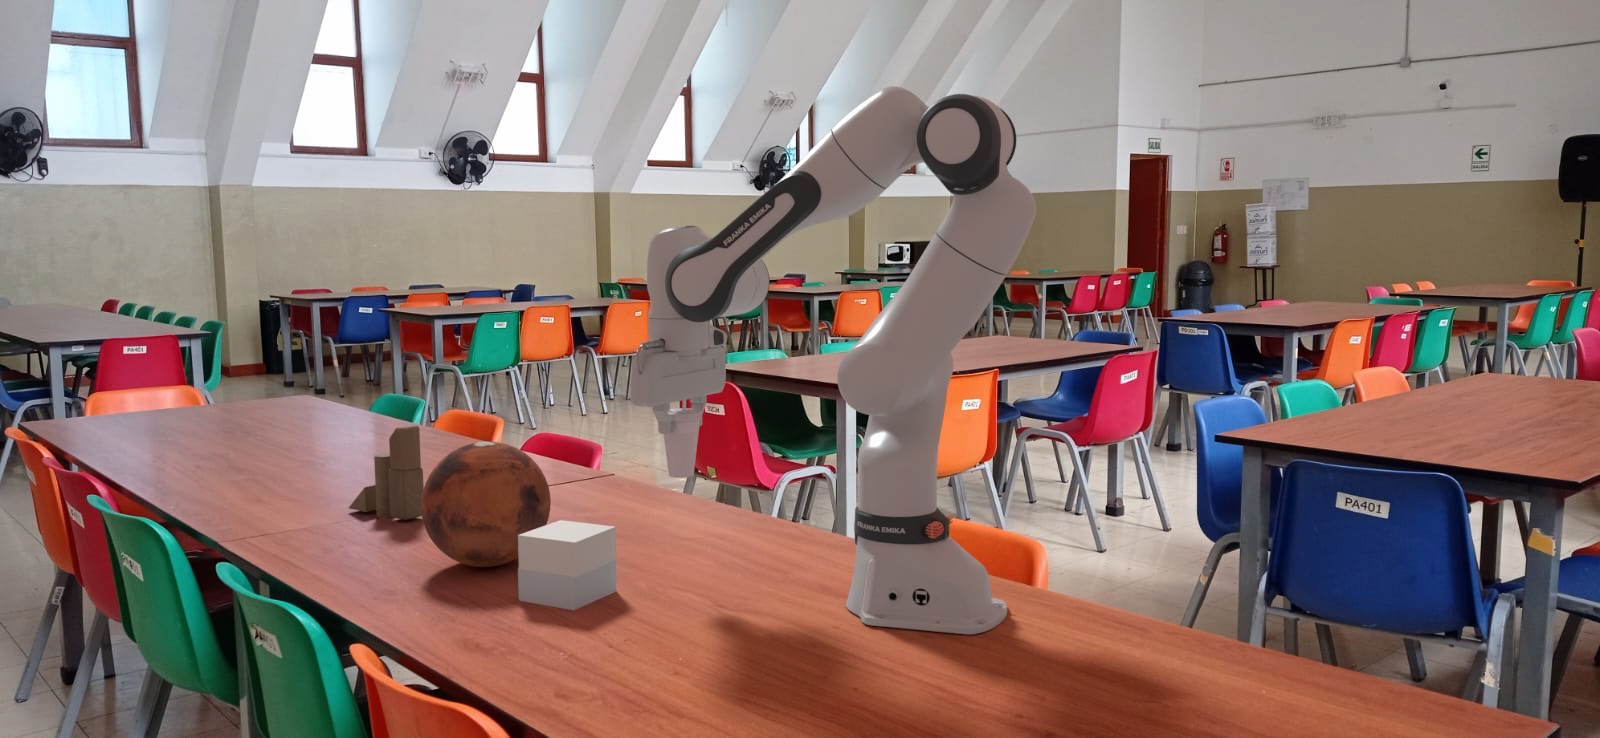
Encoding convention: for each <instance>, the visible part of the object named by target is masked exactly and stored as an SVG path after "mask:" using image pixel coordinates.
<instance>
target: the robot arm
mask: <svg viewBox="0 0 1600 738" xmlns="http://www.w3.org/2000/svg"><path fill="white" fill-rule="evenodd" d="M1016 148H1017V133H1016V129H1015V125H1014V123H1013V121H1012V119H1011V117H1010V115H1008V114H1007V113H1006V111H1005V110H1003V108H1000V107H999V106H998V105H997V104H996V103H995V102H993V101H991V100H989V99H987V98H985V97H982V96H978V95H972V94H971V95H970V94H966V93H965V94H964V93H955V94H954V93H953V94H950V95H947V96H945V97H942V98H940V99H938V100H936V101H935V102H934V103H933V104H932V105H930V106H929V105H927V104H925V103H924V102H923V101H922V99H921V98H919V97H918V96H917V95H916V94H915V93H913V92H912V91H911V90H908V89H907V88H904V87H900V86H887V87H884V88H882V89H881V90H879V91H877V92H876V93H874V94H873V95H871V96H869V97H868V98H867V99H865V100H864V101H863V102H861V103H860V104H858V105H857V106H856V107H855V108H853V109H852V110H851V111H850V112H849V113H847V114H846V115H845V116H844V117H842V118H841V119H840V120H839V121H838V122H837V123H836V124H835V125H834V126H833V127H832V128H831V129H830V130H829V131H828V132H827V133H826V134H825V135H824V136H823V137H822V138H821V139H820V140H819V141H818V142H817V143H816V144H815V145H814V146H813V147H812V148H811V149H810V150H808V153H805V156H804V157H802V158H801V159H800V160H799V161H798V162H797V163H796V164H795V165H794V166H793V167H792V168H791V169H790V170H789V171H787V173H786V174H785V175H783V176H782V177H781V179H780V180H778V181H777V182H776V183H775V185H773V186H772V187H771V188H770V189H768V190H767V191H766V192H765V193H763V194H762V195H761V196H760V197H758V199H756V200H755V201H754V202H753V203H752V204H751V205H749V206H748V207H747V208H746V209H745V210H744V211H743V212H741V213H740V214H739V215H738V216H737V217H735V218H734V220H732V221H731V222H730V223H729V224H728V225H726V227H724V228H723V229H722V230H721V231H720V232H719V233H717V234H716V235H715V236H713V237H712V236H711V235H709V234H707V233H706V232H705V231H704V229H702V228H701V227H699V226H696V225H682V226H675V227H669V228H666V229H662V230H660V231H658V232H656V233H655V234H654V235H653V236H652V237H651V239H650V242H649V244H648V245H649V246H648V250H647V251H648V252H647V259H646V260H647V261H646V262H647V263H646V287H647V288H646V289H647V292H648V296H649V301H650V302H649V303H650V305H649V310H648V315H647V321H648V322H647V326H648V328H647V329H648V340H647V341H646V340H645V341H643V342H642V343H640V345H639V347H638V349H637V350H636V351H635V357H634V360H633V362H632V368H631V376H630V377H631V379H630V381H631V382H630V399H631V401H632V403H633V405H634V406H636V407H643V408H648V407H650V408H652V412H653V415H654V417H655V419H656V421H657V423H658V425H657V426H658V427H657V428H658V430H657V431H658V434H661V435H663V434H669V433H672V432H673V431H674V428H673V427H674V421H670V417H669V414H668V411H669V410H670V409H671V405H670V404H671V403H677V402H681V401H682V400H686V401H687V400H690V401H689V402H690V403H691V407H690V409H697V410H701V411H702V415H703V414H704V411H705V409H706V406H707V402H708V401H707V396H709V395H713V394H719V393H722V392H723V390H724V388H725V385H726V379H727V375H726V373H727V369H726V368H727V367H726V365H727V363H726V360H727V358H726V351H725V349H724V348H723V346H725V345H726V343H727V333H726V332H725V331H724V330H721V329H719V328H717V327H715V326H714V325H713V324H711V323H709V321H711V320H715V319H718V318H725V317H731V316H738V315H744V314H747V313H749V312H752V311H754V310H755V309H757V308H759V307H760V306H761V305H762V304H763V303H764V301H765V300H766V298H767V296H768V293H769V291H770V283H771V281H770V274H769V270H768V268H767V265H766V264H765V262H764V261H763V259H764V258H765V257H766V255H768V254H770V252H771V251H773V250H774V249H775V248H776V247H777V246H778V245H779V244H781V243H782V242H783V241H785V240H786V239H787V238H788V237H790V236H791V235H794V234H795V233H797V232H799V231H801V230H804V229H807V228H809V227H812V226H815V225H819V224H824V223H828V222H832V221H837V220H841V219H846V218H848V217H850V216H852V215H854V214H856V213H857V212H859V211H860V210H862V209H864V208H865V207H867V206H868V205H869V204H871V203H872V202H874V201H875V200H876V199H877V198H878V197H879V196H881V195H882V194H883V193H884V192H885V191H886V190H887V189H888V188H889V187H890V186H891V185H892V184H893V183H894V182H895V181H897V179H898V178H900V177H901V176H902V175H903V174H904V173H905V172H906V171H908V170H909V169H911V168H912V167H914V166H916V165H919V164H922V163H923V164H925V166H927V168H928V169H929V170H930V172H931V173H932V174H933V175H934V176H935V177H936V178H937V179H938V180H939V182H940V183H941V184H942V185H943V186H944V188H945V189H946V190H947V191H948V192H949V193H951V194H953V199H952V203H951V204H950V208H949V210H948V211H947V212H946V215H945V216H944V218H943V220H942V221H941V223H940V224H939V226H938V227H937V229H936V231H935V233H934V235H933V236H932V238H931V239H930V242H929V243H928V245H927V246H926V248H925V249H924V251H923V253H922V254H921V256H920V257H919V259H918V261H917V262H916V264H915V266H914V267H913V269H912V270H911V271H910V272H911V273H910V274H909V276H907V278H906V280H905V281H904V283H902V285H901V287H899V290H898V291H897V292H896V293H895V294H894V296H893V297H892V298H891V299H890V300H889V301H888V303H887V304H886V305H885V306H884V308H883V309H882V310H881V311H880V312H879V314H878V315H877V316H876V317H875V318H874V320H873V321H872V323H871V324H870V325H869V327H868V328H867V329H866V330H865V332H864V334H862V336H861V337H860V338H859V339H858V341H857V343H855V344H854V345H853V346H852V347H851V348H850V349H849V350H848V351H847V352H846V353H845V355H844V356H843V357H842V358H841V361H840V363H839V365H838V367H837V368H838V369H837V377H836V379H837V381H836V382H837V386H838V390H839V392H840V395H841V397H842V398H843V400H844V401H845V403H846V404H847V405H848V406H849V407H851V408H852V409H853V410H855V411H856V412H858V413H861V414H864V415H868V420H867V424H866V425H867V426H866V430H865V433H864V437H863V440H862V442H861V445H860V448H859V450H858V455H857V460H858V461H857V506H856V507H855V509H854V521H853V523H854V525H853V527H854V528H853V529H854V530H853V531H854V543H855V545H856V549H855V550H856V551H855V559H854V566H853V567H854V569H853V575H852V580H851V585H850V588H849V593H848V596H847V599H846V603H845V605H846V608H847V609H848V610H849V612H852V613H853V614H855V615H856V616H858V617H859V618H860V619H861V622H862V623H863V624H865V625H868V626H875V627H887V628H895V629H896V628H897V629H907V630H916V631H918V630H919V631H926V632H927V631H929V632H939V633H948V634H949V633H950V634H952V633H953V634H962V635H976V634H980V633H984V632H988V631H989V630H991V629H994V628H995V627H997V626H998V625H1000V624H1001V623H1002V622H1003V621H1004V620H1005V619H1006V617H1007V615H1008V605H1007V603H1006V602H1005V600H1003V599H999V598H997V597H996V598H995V597H993V596H992V590H991V581H990V578H989V573H988V571H987V568H986V566H984V565H983V564H982V563H981V562H980V561H979V560H977V559H976V558H975V557H974V556H972V554H970V553H969V552H968V551H967V550H966V549H964V547H962V546H961V545H960V544H959V543H958V542H956V541H955V540H954V539H953V538H952V537H950V525H951V524H952V523H953V522H954V521H953V517H954V515H953V514H949V515H948V516H947V515H945V514H944V513H943V512H942V511H941V510H940V509H939V508H938V507H937V505H938V499H937V498H938V497H937V496H938V459H939V457H938V456H939V445H940V439H941V433H942V427H943V423H944V417H945V412H946V404H947V395H948V390H949V389H948V388H949V384H950V382H951V378H952V376H953V372H954V359H953V358H954V357H953V355H952V351H953V350H954V349H955V348H956V347H957V346H958V344H959V343H960V342H961V341H962V339H963V338H964V337H965V336H966V335H967V334H968V332H969V331H970V330H972V328H973V327H974V326H975V325H976V324H977V322H978V321H979V319H980V318H981V316H982V315H983V313H984V312H985V310H986V309H987V307H988V305H989V304H990V302H991V301H992V299H993V297H995V294H996V292H997V291H998V289H999V288H1000V286H1001V284H1002V283H1003V282H1004V280H1005V278H1006V276H1008V273H1009V272H1010V271H1011V269H1012V268H1013V265H1014V263H1015V262H1016V260H1017V258H1018V257H1019V255H1020V253H1021V250H1022V249H1023V246H1024V245H1025V242H1026V241H1027V238H1028V236H1029V234H1030V232H1031V228H1032V226H1033V223H1034V221H1035V219H1036V215H1037V211H1038V209H1037V208H1038V207H1037V202H1036V200H1035V196H1034V195H1033V194H1032V192H1031V191H1030V190H1029V189H1028V188H1027V186H1026V185H1025V184H1024V183H1022V182H1021V181H1020V180H1018V179H1017V178H1015V177H1013V175H1012V174H1011V173H1010V172H1009V170H1008V166H1009V164H1010V163H1011V161H1012V159H1013V157H1014V156H1015V155H1014V154H1015V152H1016ZM702 425H703V417H702V418H701V419H700V424H699V427H700V426H702Z"/></svg>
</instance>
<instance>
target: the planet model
mask: <svg viewBox="0 0 1600 738" xmlns="http://www.w3.org/2000/svg"><path fill="white" fill-rule="evenodd" d="M546 478H547V477H546V476H545V474H544V472H543V471H542V469H541V468H540V466H539V465H538V464H537V462H536V461H535V460H534V459H533V458H532V457H531V456H529V455H528V454H527V453H525V452H524V451H522V450H520V449H519V448H517V447H515V446H513V445H510V444H507V443H504V442H503V443H502V442H498V441H479V442H472V443H469V444H466V445H463V446H461V447H459V448H457V449H454V450H453V451H451V452H450V453H449V454H447V455H446V456H444V457H443V458H442V459H441V460H440V461H439V462H438V463H436V466H435V467H433V469H432V470H431V473H430V474H429V475H428V477H427V480H426V482H425V485H424V490H423V494H422V501H421V511H422V516H421V519H422V522H423V525H424V528H425V530H426V532H427V534H428V537H429V538H430V540H431V542H432V543H433V544H434V545H435V546H436V547H437V549H439V550H440V552H441V553H443V554H444V555H446V556H447V557H448V558H450V559H451V560H454V561H456V562H458V563H460V564H463V565H466V566H471V567H476V568H477V567H478V568H491V567H492V568H493V567H497V566H503V565H505V564H509V563H510V562H513V561H515V560H516V559H519V555H518V535H520V534H523V533H525V532H528V531H531V530H534V529H537V528H540V527H542V526H545V525H548V521H549V518H550V512H551V500H552V499H551V492H550V487H549V484H548V482H547V479H546Z"/></svg>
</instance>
